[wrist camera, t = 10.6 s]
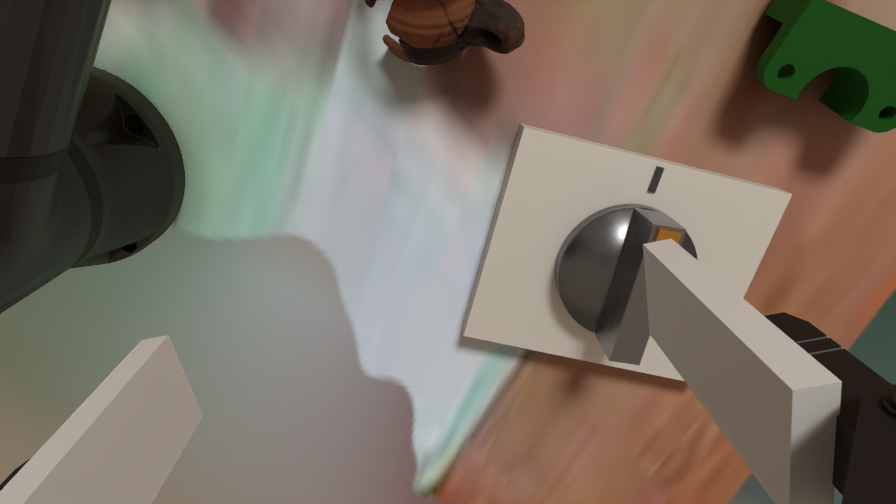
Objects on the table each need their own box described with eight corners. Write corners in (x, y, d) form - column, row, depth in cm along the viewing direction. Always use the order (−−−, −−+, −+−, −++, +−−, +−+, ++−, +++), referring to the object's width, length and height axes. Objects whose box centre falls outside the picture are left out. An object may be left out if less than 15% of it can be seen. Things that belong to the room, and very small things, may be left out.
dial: (665, 337, 48) (694, 375, 43) (540, 318, 47) (554, 354, 42) (708, 216, 45) (747, 241, 39) (574, 192, 44) (594, 214, 38)
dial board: (462, 324, 50) (463, 336, 48) (520, 123, 44) (524, 127, 42) (692, 372, 52) (702, 385, 50) (777, 188, 46) (793, 195, 44)
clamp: (732, 57, 47) (731, 72, 39) (779, -17, 44) (787, -16, 36) (875, 124, 45) (902, 153, 37) (937, 50, 41) (980, 66, 34)
